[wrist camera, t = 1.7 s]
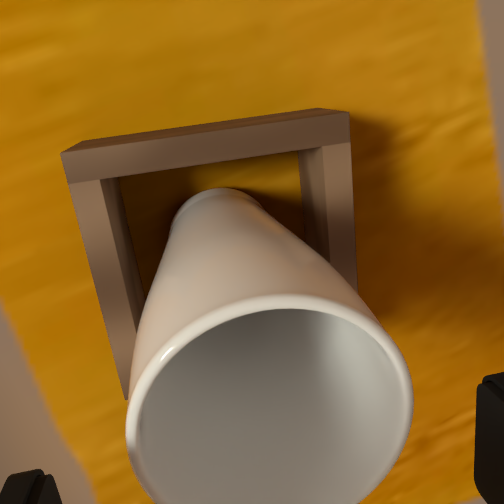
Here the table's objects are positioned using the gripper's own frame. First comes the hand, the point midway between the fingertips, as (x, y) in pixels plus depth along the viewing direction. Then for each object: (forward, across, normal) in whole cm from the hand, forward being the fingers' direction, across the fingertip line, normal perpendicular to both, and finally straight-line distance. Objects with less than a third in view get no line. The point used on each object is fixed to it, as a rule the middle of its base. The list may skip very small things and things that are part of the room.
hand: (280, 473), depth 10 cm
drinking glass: (+16, 0, -1) cm, 16 cm away
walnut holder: (+16, 0, -1) cm, 16 cm away
